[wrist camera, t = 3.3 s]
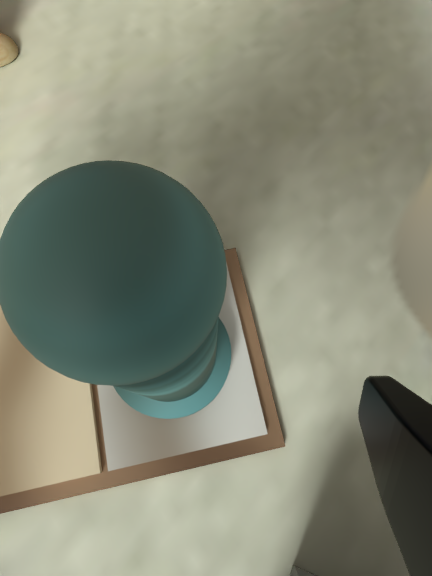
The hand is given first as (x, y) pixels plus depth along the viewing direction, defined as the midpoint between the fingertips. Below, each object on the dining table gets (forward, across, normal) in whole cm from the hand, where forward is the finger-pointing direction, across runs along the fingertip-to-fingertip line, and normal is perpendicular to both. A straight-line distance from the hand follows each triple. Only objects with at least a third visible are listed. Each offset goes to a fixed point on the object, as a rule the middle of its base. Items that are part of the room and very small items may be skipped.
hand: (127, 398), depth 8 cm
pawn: (+8, 0, +5) cm, 9 cm away
